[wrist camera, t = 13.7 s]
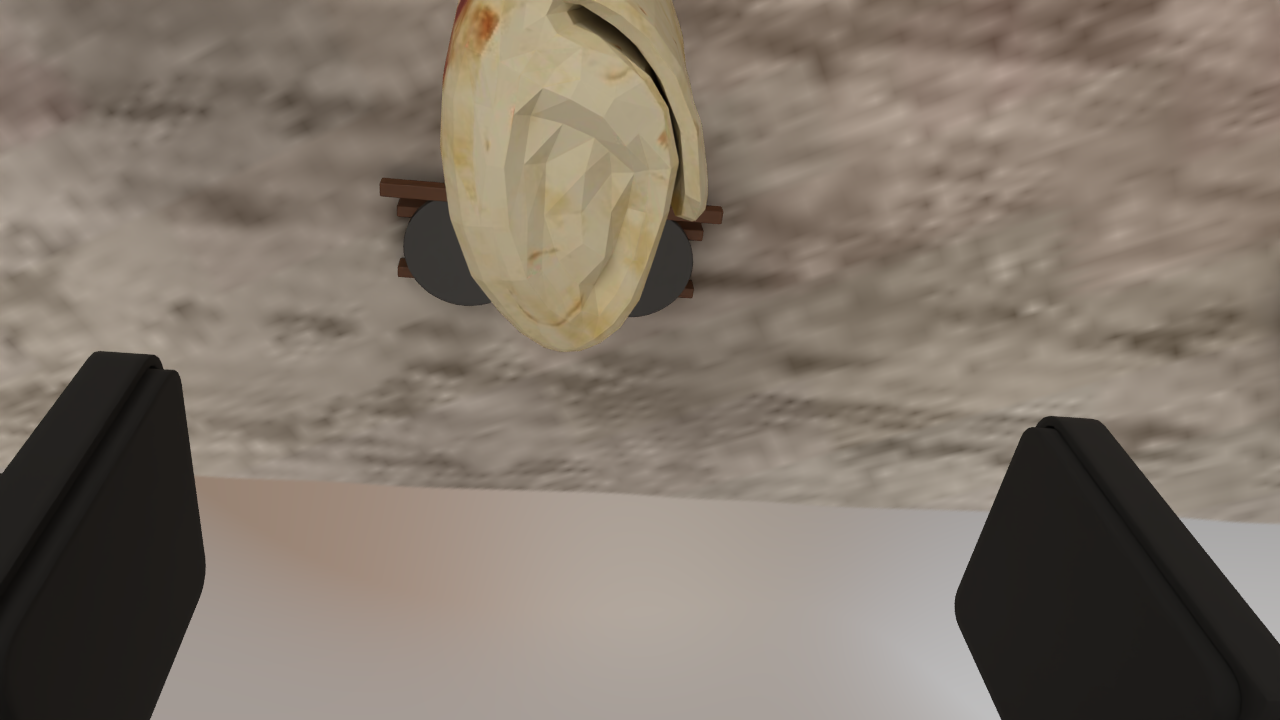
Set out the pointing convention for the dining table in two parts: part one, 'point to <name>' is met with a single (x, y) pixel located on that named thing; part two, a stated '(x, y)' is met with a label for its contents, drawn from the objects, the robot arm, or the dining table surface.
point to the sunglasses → (449, 279)
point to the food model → (567, 156)
